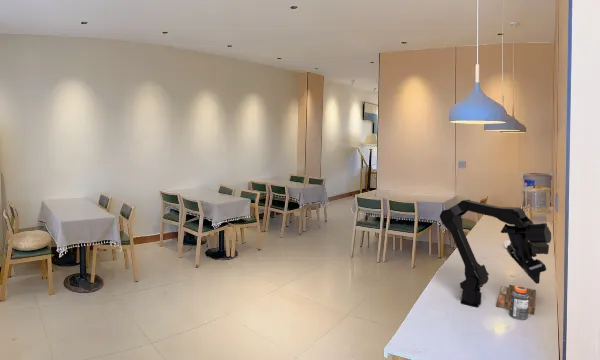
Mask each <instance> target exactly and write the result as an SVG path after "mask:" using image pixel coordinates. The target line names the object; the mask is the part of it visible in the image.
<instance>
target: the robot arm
mask: <svg viewBox="0 0 600 360" xmlns="http://www.w3.org/2000/svg"><path fill="white" fill-rule="evenodd" d="M467 212H471V213H476V214H480V215H484V216H488V217H492V218H495V219H497V220H499V221H500V222H503V223H505V224H504V226H503V227H502V228H501V230H500V233H501V234H507V236H508V240H509V239H510V242H511V243H510V245H508V246H507V248H505V249H506V252H507V253H508V255H509V257H511V258H512V259H513V260H514V261H515V263H517V265H518V266H520V267H521V269H522V270H523V271H524V272H525V274H526V275H527V276H528V277H529V278H530V279H531V280H532V281H533V282H534V283H535V284H536V285H537V284H540V280H541V279H540V278H541V273H543V272H546V271H547V266H546V265H545V263H544V262H543V261H542V260H541V259H538V258H536V259H534V258H535V257H537V255H549V249H550V245H549V244H550V243H551V241H552V232H551V230H550V228H549V226H548V223H547V222H541V223H534V222H533V221H532V220H531V219H530V218H529V217H528V216H527V215H526V212H525V210H524V208H522V207H519V206H517V207H514V206H497V205H492V204H487V203H484V202H483V203H482V202H478V201H475V200H471V199H463V200H461V201H459V202H458V203H457V204H454V205H453V206H451V207H449V209H444V210H441V212H440V214H439V220H440V221H441V223H442V226H444V228H445V229H447V230H448V231H449V232H450V234H451V237H452V238H453V242H454V243H455V245H456V248H457V251H458V253H459V256H460V257H461V260H462V262H463V265H464V276H465V277H464V278H465V279H464V280H462V281H461V282H460V283H459V285H460V289H462V290H461V292H462V294H461V301H460V304H462V305H467V306H471V307H476V308H479V306H480V305H481V303H482V296H483V292H481V288H483V287H484V285H485V284H486V285H487V283H488V281H489V275H490V273H489V272H488V271H487V269H486V266H485V264H482V265H481V264H479V262H478V261H477V259H476V257H475V253H474V252H473V249H472V247H471V245H470V242H469V241H468V239H467V238H468V237H467V235H466V234H465V232H464V229H463V218H462V216H464V215H465V214H466V213H467Z"/></svg>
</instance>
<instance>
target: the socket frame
mask: <svg viewBox="0 0 600 360" xmlns="http://www.w3.org/2000/svg"><path fill="white" fill-rule="evenodd" d="M508 285H509V286H503V285H501V286H500V290H499V292H498V296H497V299H496V302H495V307H496V308H501V309H506V310H509V311H510V301H511V293H512V292H513V291H514V289H515V286H516V285H512V284H508ZM526 288H527V294H528V295H529V307H528V315H533V316H535V310H536V296H537V295H536V294H537V290H536V289H534V288H528V287H526Z"/></svg>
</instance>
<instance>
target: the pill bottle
mask: <svg viewBox="0 0 600 360" xmlns="http://www.w3.org/2000/svg"><path fill="white" fill-rule="evenodd" d="M514 286H515V289H514V291H513V292H512V293H511V301H510V310H509V313H508V314H509V316H510V317H511V318H513V319H515V320H520V321H525V320H527V319H528V315H529V314H528V307H529V295H528V294H527V288H528V287H525V286H521V285H514Z"/></svg>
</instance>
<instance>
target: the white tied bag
mask: <svg viewBox="0 0 600 360" xmlns="http://www.w3.org/2000/svg"><path fill="white" fill-rule="evenodd" d="M510 243H511V242H510V239H509V238H508V239H505V240H504V241H503V245H504V248H505V249H506V248H507V246H508V245H510Z"/></svg>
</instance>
